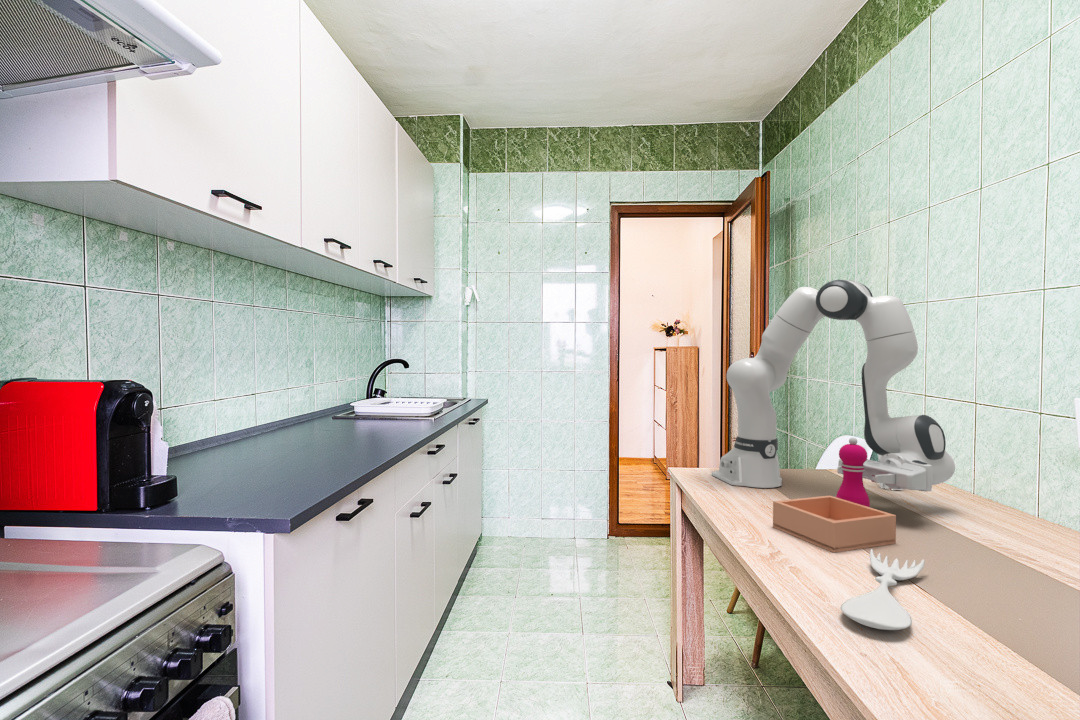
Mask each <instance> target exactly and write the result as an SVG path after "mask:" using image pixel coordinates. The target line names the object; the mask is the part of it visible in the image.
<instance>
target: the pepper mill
mask: <svg viewBox="0 0 1080 720" xmlns="http://www.w3.org/2000/svg"><path fill="white" fill-rule="evenodd" d="M838 457H839V459H841V460H842V461H843V463H841V465H842V467H841V469H842V470H843V474H842V482H841V484H840V487H839V488H838V490H837V492H836V496H835V497H837V498H840V499H843V500H847V501H850V502H853V503H857V504H860V505H863V506H867V507H870V508H871V506H870V505H871V503H870V502H871V501H870V498H869V495H868V492H867V491H866V488H865V486H864V480H863V479H864V478H862V476H863V472H864V471H865V469H864V467H865V466H864V465H863V464H864V462H865V461H866V460H867V459H868V452H867V449H865V447H863V446H862V445H860V444H858V439H857V438H855V437H850V438H849V440H848V443H847V444H844V445H842V446H841V447H840V448H839V452H838Z"/></svg>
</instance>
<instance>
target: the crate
mask: <svg viewBox="0 0 1080 720" xmlns="http://www.w3.org/2000/svg"><path fill="white" fill-rule="evenodd" d="M772 528H774V529H777V530H779V531H780V532H781V531H782V532H784V533H786V534H788V535H791V536H792V537H793V536H794V537H796V538H798V539H800V540H803V541H805V542H808V543H810V544H813V545H815V546H817V547H820V548H822V549H825V550H827V551H829V552H832V553H841V552H847V551H854V550H861V549H868V548H875V547H880V546H887V545H894V544H896V542H897V536H896V535H897V533H896V531H897V515H896V514H893V513H890V512H887V511H883V510H879V509H876V508H873V507H871V506H870V507H867V506H863V505H860V504H857V503H853V502H850V501H847V500H843V499H840V498H837V497H836V496H833V495H823V496H822V495H820V496H813V497H804V498H791V499H781V500H775V501H772Z"/></svg>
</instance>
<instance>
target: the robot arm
mask: <svg viewBox="0 0 1080 720" xmlns="http://www.w3.org/2000/svg"><path fill="white" fill-rule="evenodd" d="M909 315H910V314H909V313H908V311H907V308H906V307H905V305H904V303H903V301H902V299H900V298H899V297H897V296H894V295H887V294H885V295H879V296H878V295H877V296H873V294H872V291H871V289H869V287H868V286H866V285H865V284H863V283H860V282H859V281H858V282H857V281H855V280H851V279H834V280H831V281H828V282H826V283H824V284H823V285H822V286H821V287H820V288H819V290H818V289H816V288H814V287H810V286H801V287H798V288H796V289H795V290H794V291H793V292H792V293H791V294H790V295H789V296H788V298H787V299H786V300H785V301H784V302H783V303H782V305H781V306H780V307H779V309H778V310H777V312H776V313H775V315H774V316H773V317H772V319H771V321H770V322H769V324H768V325H767V326H766V328H765V329H764V331H763V332H762V335H761V343H760V346H759V348H758V351H757V353H756V355H755V356H754V357H745V358H741V359H738V360H737V361H735V362H733V363H732V364H731V365H730V366H729V367H728V369H727V371H726V381H727V384H728V386H729V387H730V389H731V390H732V391H733V395H734V399H735V403H736V408H737V409H736V410H737V426H738V427H737V436H736V437H732V442H734V445H733V448H732V449H731V450H728V452H726V453H725V454H723V456H721V457H720V459H719V467H718V470H714V471H712V472H711V476H712V477H715V478H716V479H719V480H721V481H723V482H725V483H727V484H728V485H731V486H738V487H740V486H741V487H749V488H761V489H763V488H764V489H767V488H768V489H769V488H770V489H771V488H777V487H778V488H779V487H780V486H782V485H783V484H782V482H783V478H782V477H781V473H780V462H779V455H778V453H777V451H778V449H779V448H778V447H779V442H778V440H779V439H778V438H777V412H776V410H775V409H774V407H773V404H772V400H771V395H770V393H773V392H775V391H776V390H778V389H779V388H781V387H783V385H784V384H785V383H786V382H787V378H788V372H789V371H790V368H791V366H792V363H793V361H794V359H795V357H796V355H797V353H798V351H800V349H801V347H802V346H803V345H804V343H805V342H806V341H807V339H808V337H809V336H810V334H811V333H812V331H813V330H814V328H815V327H816V326H817V324H818V323H819V322H820V321H821V320H822V319H823V318H825V317H826V318H828V319H832V320H838V321H850V320H851V321H856V322H858V323H859V324H860V326H861V328H862V331H863V334H864V338H865V341H866V343H865V344H866V347H867V348H866V352H867V353H866V360H865V362H864V363H863V365H862V367H861V388H862V398H863V400H862V401H863V411H864V430H863V437H864V441H865V443H866V445H867V446H868V447H869V448H870V449H871V450H872V451H873V452H874V453H875V454H876V455H878V454H879V455H884V456H882V457H881V458H880V460H872V459H868V458H867V460H866V461H865V462H864V464H863V465H864V466H865V467H864V469H865V471H864V472H863V476H862V478H863V479H865V480H868V481H871V482H872V483H876V484H880V483H884V484H885V485H887V486H888V487H890V488H893V489H903V490H910V491H919V492H932V487H933V486H936V485H939V484H943V483H945V482H948V481H949V480H950V479H951V478H952V477H953V476H954V474H955V472H956V471H955V470H956V465H955V461H954V459H953V457H952V456H951V455H950V454H949V453H948V452H947V451H946V443H947V442H946V436H945V433H944V430H943V428H942V426H941V425H940V424H939V423H938V421H936V420H935V419H934V418H933V417H931V416H929V415H927V414H922V415H921V414H920V415H919V414H918V415H905V416H896V417H891V416H890V414H889V410H888V409H889V407H888V398H887V397H888V396H887V386H888V383H889V381H890V380H891V379H892V378H893V377H894V376H895V375H896V374H898V373H900V372H901V371H904V370H905V369H906V368H908V366H909V365H911V364H912V363H913V361H914V360H915V359H916V356H917V355H918V352H919V350H918V349H919V348H918V346H919V345H918V340H917V337H916V332H915V330H914V325H913V323H912V320H911V317H910V316H909ZM841 463H843V461H842V460H841V459H840V458H839V460H838V465H837V468H836V469H837V474H840V475H843V470H842V469H841V467H842V465H841Z"/></svg>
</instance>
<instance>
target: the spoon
mask: <svg viewBox="0 0 1080 720" xmlns="http://www.w3.org/2000/svg"><path fill="white" fill-rule="evenodd" d="M874 554H875V553H874V550H873V548H872V549H870V551H869V561H870V562H869V563H870V565H871V567H872V568H873V570H874V571H875V572H876V573H878V574H879V575H880V576H876V577H875V579H874V580H875V581H876V582H877V583H879V584H880V585H879V586H878V587H877V588H875V589H873V590H872V591H869V592H866V593H863V594H859V595H857V596H854V597H851V598H849V599H847V600H846V601H844V602H842V604H841V606H840V610H841V612H842V613H843V614H844V615H845V616H846V617H847V618H849V619H850V620H853V621H854V622H856V623H859V624H861V625H863V626H866V627H869V628H874V629H877V630H885V631H898V630H899V631H900V630H904V629H907V628H909V627H911V626H912V623H913V619H912V616H911V614H910V613H909V611H907V610H906V608H904V607H903V605H901V604H900V602H899V601H898V600H896V598H895V597H894V596H893V595H892V594H891V592H890V591H889V588H888V587H890V586H897V584H898V581H906V580H909V579H912V578H914V577H916V576H917V575H918V574H919V573H920V572H921V571H922V570H923V569H924V567H925V559H924V558H923V559H921V561H920V562H919V563H918V564H917V563H916V560H915V559H914V560H913V561H912V563H911V565H910V566H909V560H908V559H906V560H905V562H904V564H903V566H902V567H901V568H900V562H899V559H898V558H895V559H894V560H893V562H892V563H891V565H890V566H889V558H888V555H885V558H884V560H883V561H882V558H881V553H880V552H879V553H878V554H877V556H875V555H874Z"/></svg>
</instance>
